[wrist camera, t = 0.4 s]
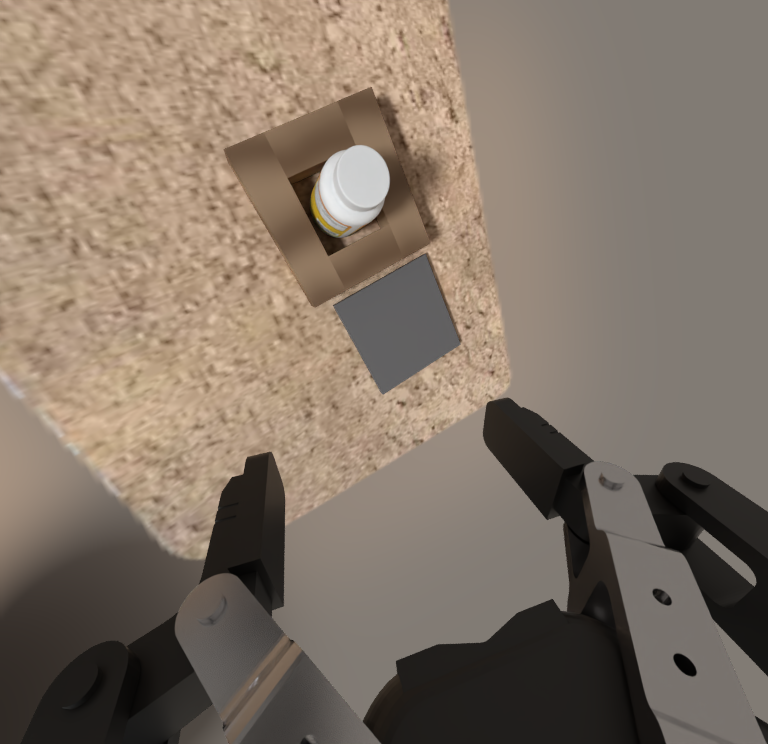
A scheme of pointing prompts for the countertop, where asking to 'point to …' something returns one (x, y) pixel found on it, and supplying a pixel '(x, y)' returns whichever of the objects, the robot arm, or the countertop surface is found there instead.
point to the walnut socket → (308, 156)
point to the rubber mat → (399, 323)
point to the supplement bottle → (349, 191)
